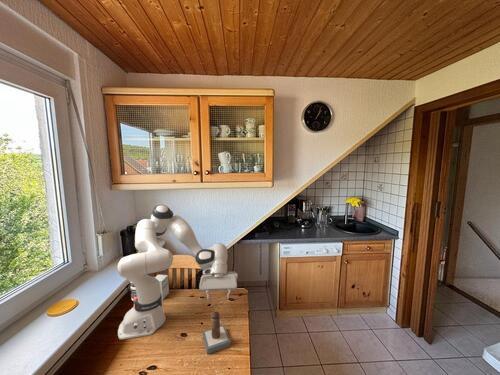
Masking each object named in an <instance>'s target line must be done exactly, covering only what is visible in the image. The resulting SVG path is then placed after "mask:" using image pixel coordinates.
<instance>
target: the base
mask: <svg viewBox="0 0 500 375" xmlns="http://www.w3.org/2000/svg"><path fill="white" fill-rule="evenodd" d="M201 333H202V339H203V343H204V347H205V351H206V355H211V354H213V353H215V352H219V351H220V350H224V349H227V348H230V347H231V346H232V342H231V338H230V336H229V334H228V331H227V329H226V325H225V324H222V325H221V324H220V337H219V338H218V339H213V338H212V331H211V328H209V329H206V330H203V331H202V332H201Z"/></svg>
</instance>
